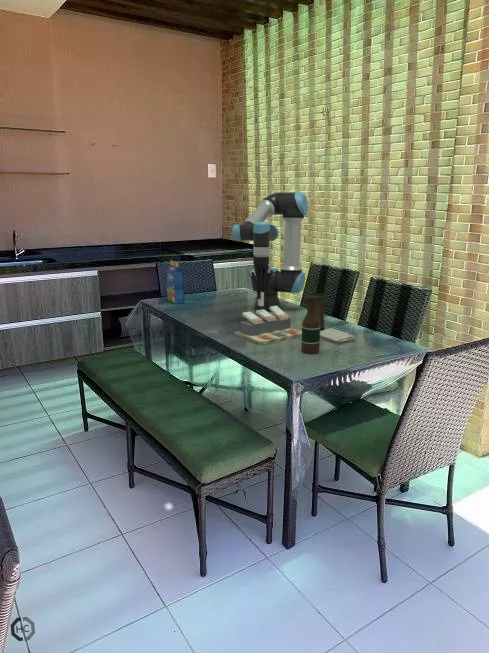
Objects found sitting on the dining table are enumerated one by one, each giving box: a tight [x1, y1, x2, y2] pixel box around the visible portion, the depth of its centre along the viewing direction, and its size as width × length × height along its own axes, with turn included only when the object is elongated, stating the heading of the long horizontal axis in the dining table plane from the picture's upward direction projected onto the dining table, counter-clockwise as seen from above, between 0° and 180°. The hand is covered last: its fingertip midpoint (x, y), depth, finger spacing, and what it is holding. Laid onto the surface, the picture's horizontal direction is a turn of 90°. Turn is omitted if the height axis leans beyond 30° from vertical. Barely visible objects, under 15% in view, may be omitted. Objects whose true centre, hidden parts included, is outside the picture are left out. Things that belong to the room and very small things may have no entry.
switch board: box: [234, 325, 302, 346], centre depth 234 cm, size 28×20×2 cm
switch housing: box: [239, 315, 292, 336], centre depth 237 cm, size 24×8×5 cm, turn 126°
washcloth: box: [320, 328, 356, 346], centre depth 229 cm, size 12×18×3 cm, turn 35°
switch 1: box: [242, 311, 263, 324], centre depth 231 cm, size 4×10×2 cm, turn 36°
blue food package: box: [166, 259, 185, 305], centre depth 301 cm, size 6×12×25 cm, turn 31°
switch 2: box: [269, 306, 290, 320], centre depth 240 cm, size 4×10×2 cm, turn 36°
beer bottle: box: [301, 295, 321, 355], centre depth 208 cm, size 8×8×24 cm
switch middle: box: [255, 309, 276, 322], centre depth 236 cm, size 4×10×2 cm, turn 36°
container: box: [307, 292, 327, 331], centre depth 239 cm, size 9×9×18 cm
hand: (260, 305), depth 237 cm, fingers closed
